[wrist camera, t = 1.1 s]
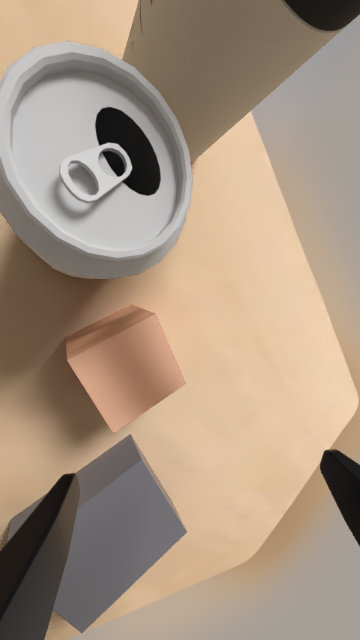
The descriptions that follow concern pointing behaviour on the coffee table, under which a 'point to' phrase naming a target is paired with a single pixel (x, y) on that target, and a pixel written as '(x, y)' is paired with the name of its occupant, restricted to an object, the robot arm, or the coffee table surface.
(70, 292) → the coffee table surface
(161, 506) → the charcoal box
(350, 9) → the travel mug
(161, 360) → the terracotta cube
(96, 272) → the can
